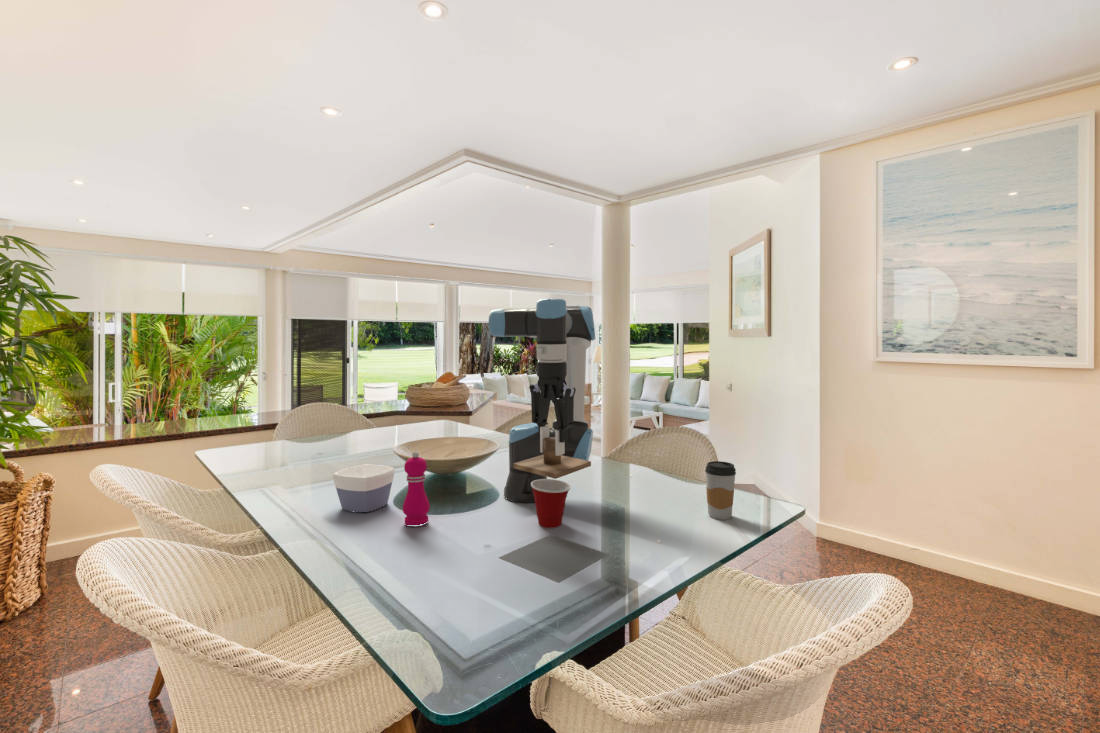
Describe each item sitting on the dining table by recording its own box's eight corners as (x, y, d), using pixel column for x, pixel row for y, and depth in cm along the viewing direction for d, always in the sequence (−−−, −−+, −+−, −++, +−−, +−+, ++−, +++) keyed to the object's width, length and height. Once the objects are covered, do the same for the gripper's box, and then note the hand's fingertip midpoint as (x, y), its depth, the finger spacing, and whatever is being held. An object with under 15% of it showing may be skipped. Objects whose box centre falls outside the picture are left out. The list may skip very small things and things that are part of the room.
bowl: (326, 511, 150) (325, 474, 149) (363, 496, 164) (362, 462, 163) (367, 518, 144) (366, 479, 143) (402, 502, 158) (401, 467, 158)
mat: (498, 561, 115) (498, 557, 115) (550, 538, 129) (550, 534, 129) (558, 587, 103) (558, 582, 103) (608, 558, 117) (608, 554, 117)
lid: (513, 468, 128) (512, 440, 127) (549, 457, 138) (549, 431, 138) (555, 478, 119) (555, 448, 118) (590, 466, 129) (591, 438, 129)
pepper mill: (435, 521, 142) (434, 450, 140) (418, 529, 135) (417, 455, 134) (414, 517, 145) (413, 447, 143) (397, 525, 138) (395, 453, 137)
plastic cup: (567, 536, 130) (567, 490, 130) (526, 533, 132) (526, 488, 132) (573, 521, 141) (573, 478, 140) (535, 518, 143) (535, 477, 142)
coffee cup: (734, 513, 147) (735, 462, 147) (735, 522, 140) (736, 469, 139) (705, 509, 150) (705, 459, 149) (703, 519, 142) (704, 466, 142)
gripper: (516, 360, 129) (517, 450, 131) (569, 363, 118) (570, 461, 120) (536, 359, 135) (536, 445, 137) (588, 361, 124) (588, 455, 126)
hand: (552, 452), depth 128 cm, fingers closed on lid, 4 cm apart
